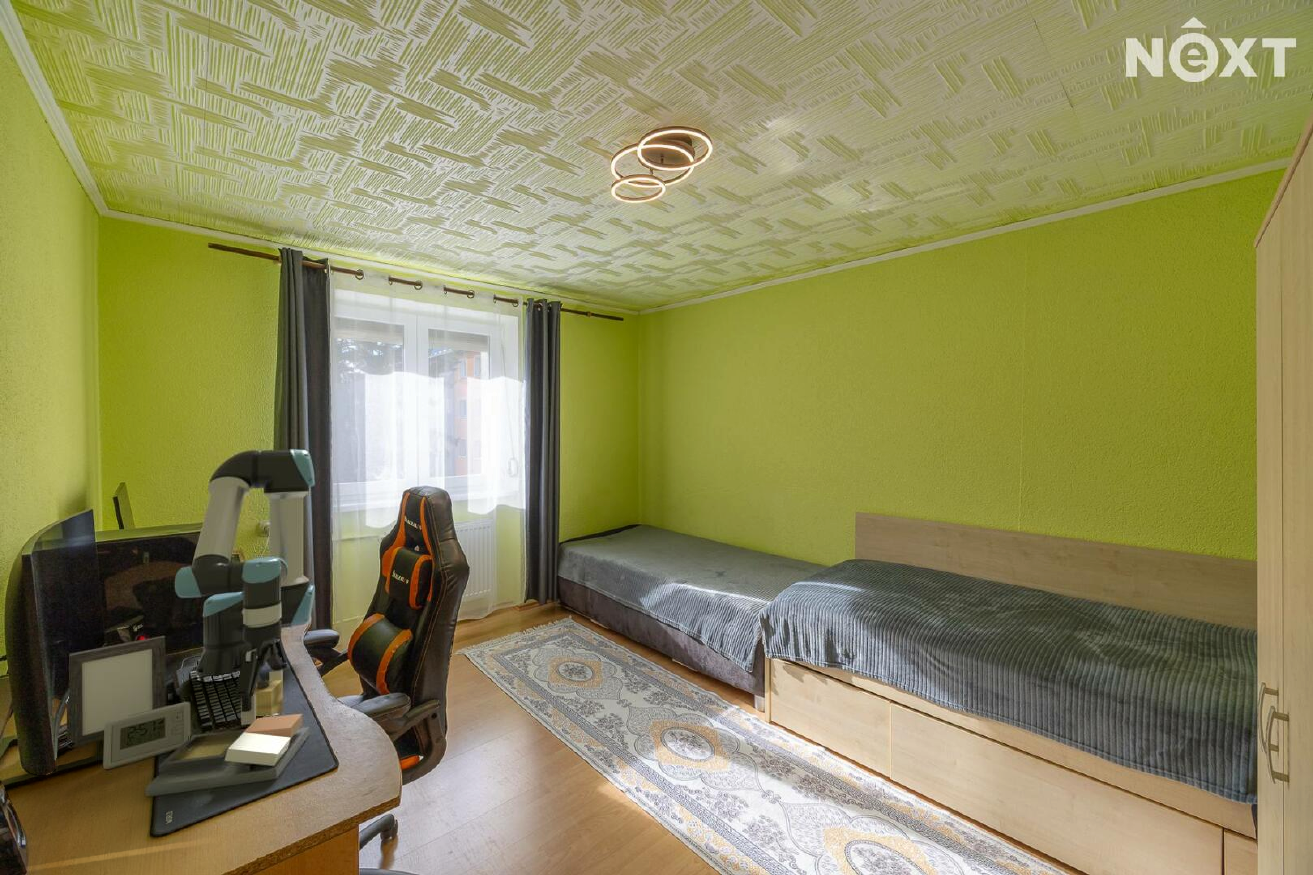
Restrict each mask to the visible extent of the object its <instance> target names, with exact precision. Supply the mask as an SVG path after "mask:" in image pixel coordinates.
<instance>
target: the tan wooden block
mask: <svg viewBox="0 0 1313 875" xmlns="http://www.w3.org/2000/svg"><path fill="white" fill-rule="evenodd" d="M283 685H284V680H277V681H269V679H262V680H258V681H257V685H256V688H255V691H254V694H256V716H264V715H269V716H272V715H273V714H275V713H278V714H279V713H280V712H281V711H282V710H283V711H284V698H283V696H284V688H283V687H284V686H283ZM283 711H282V712H283ZM282 712H281V713H282ZM281 713H280V714H281ZM280 714H279V715H280Z"/></svg>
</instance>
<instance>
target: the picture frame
mask: <svg viewBox="0 0 1313 875" xmlns="http://www.w3.org/2000/svg"><path fill="white" fill-rule="evenodd" d="M69 654H70V655H69V683H68V684H69V689H71V691H72V693H71V694H70V696H69V699H68V702H67V701H66V744H67V743H69V742H71V741H74V743H75V748H79V747H82V746H86V745H89V744H93V743H96V742H100V741H104V729H105V724H106V723H107V722H109V721H112V720H115V719H119V718H123V717H127V716H129V715H133V714H137V713H141V712H145V711H149V710H153V709H157V708H161V707H165V706H167V705H166V699H167V698H166V635H161V636H154V637H151V638H145V639H139V640H135V641H130V642H125V643H120V644H115V645H110V646H109V645H108V646H104V647H98V648H94V649H89V650H84V651H78V652H73V653H69Z"/></svg>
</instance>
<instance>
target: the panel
mask: <svg viewBox="0 0 1313 875" xmlns="http://www.w3.org/2000/svg"><path fill="white" fill-rule="evenodd" d="M246 729H247V728H244V729H243V728H242V729H235V730H226V731H218V732H217V731H216V732H208V733H202V734H201V733H198V734H193V735H192V736H191V738H189V739H188V740H187V741H186V742H185V743H184V744H183V745H181V746H180V747H179V748H178V749H176V750H174V751H173V752H172V753H171V754H170V755H169V756H168V757H167V758H165V759H164V760H163V761H162V762H161V763H160V764H158V772H159V773H160V774H158V775H157V776H156V777H155V778H154V779H153V780H152V781H151V782H149V783H148V785H146V786H145V797H146V798H149V797H156V796H162V795H170V794H178V793H184V792H185V793H186V792H193V791H199V790H206V789H207V790H208V789H213V788H214V789H215V788H221V787H229V786H235V785H236V786H237V785H243V784H250V783H257V782H263V781H271V780H278V777H279V776H280V775H281V774H282V773H283V771H284V769H286V767H287V766H288V764H289V763H290V762H291V760H292V759H293V758H294V757H295V755H296V754H297V753H298V752H299V749H300V748H302V746H303V745H304V743H305V742H306V740H307V739H308V738H309V737H310V727H307V726H306V727H300V728H299V729H298V730H297V732H296V733H295V734H294V735H293V737H292V738H291V739H290V742H289V746H288V749H287V750H286V752H285V753H284V754H283V755H282V757H281V758H280V759H279V760H278V762H277V763H276V764H275V766H271V765H262V764H252V763H242V762H232V761H225V757H226V754H227V750H228V748H229V747H230V746H231V745H232V744H233V743H234V742H235V741H236V740H237V739H238V738H239V737H240V736H241V735H242V734H243V732H244V731H245V730H246ZM308 736H309V737H308ZM307 737H308V738H307ZM304 741H305V742H304ZM301 745H302V746H301Z"/></svg>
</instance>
